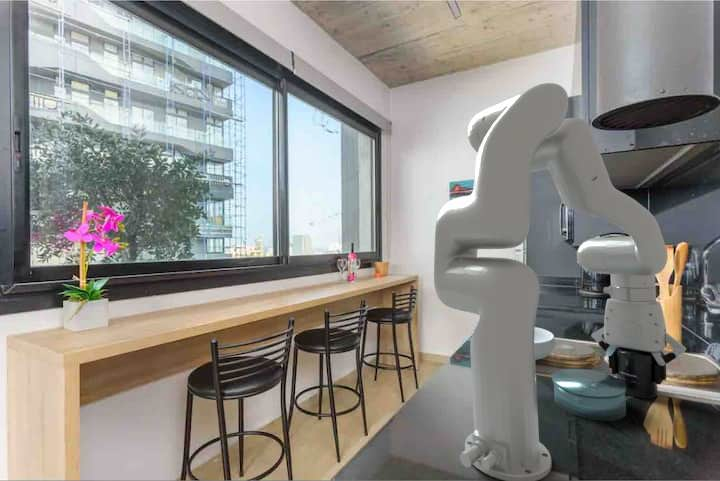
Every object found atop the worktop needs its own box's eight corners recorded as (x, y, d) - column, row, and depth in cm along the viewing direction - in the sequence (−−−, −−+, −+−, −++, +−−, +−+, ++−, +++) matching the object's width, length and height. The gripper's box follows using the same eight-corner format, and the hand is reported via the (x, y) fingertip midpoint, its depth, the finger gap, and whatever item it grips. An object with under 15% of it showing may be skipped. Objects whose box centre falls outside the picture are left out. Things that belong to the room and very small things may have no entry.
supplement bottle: (620, 395, 73) (617, 339, 73) (614, 383, 79) (612, 330, 79) (662, 401, 70) (660, 342, 70) (653, 387, 76) (650, 333, 76)
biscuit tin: (618, 429, 61) (616, 401, 61) (543, 406, 71) (542, 382, 71) (634, 403, 69) (632, 378, 69) (565, 386, 79) (564, 364, 79)
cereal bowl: (477, 353, 103) (476, 329, 103) (522, 345, 108) (521, 322, 108) (519, 373, 87) (518, 345, 87) (570, 362, 92) (569, 336, 92)
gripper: (580, 293, 79) (584, 371, 79) (684, 301, 65) (688, 396, 65) (592, 288, 83) (595, 362, 83) (691, 295, 70) (695, 383, 70)
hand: (636, 376), depth 74 cm, fingers closed on supplement bottle, 6 cm apart
